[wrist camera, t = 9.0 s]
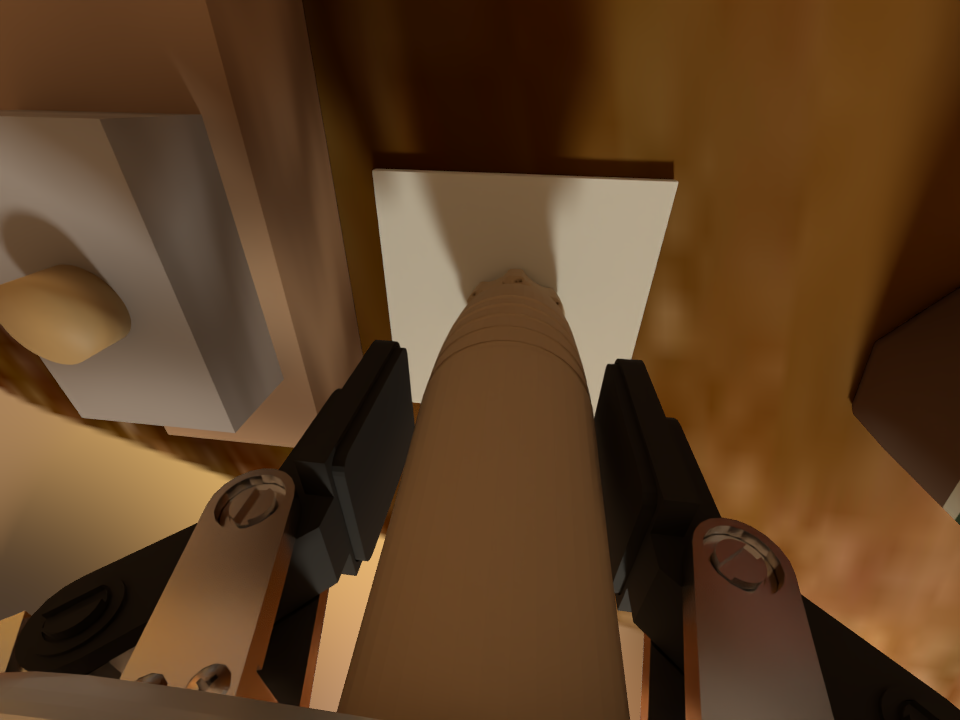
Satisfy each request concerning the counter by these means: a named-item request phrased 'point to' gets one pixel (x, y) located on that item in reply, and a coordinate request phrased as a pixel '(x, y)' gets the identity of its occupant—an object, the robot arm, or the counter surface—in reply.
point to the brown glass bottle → (919, 399)
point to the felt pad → (519, 253)
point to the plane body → (173, 214)
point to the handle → (496, 535)
